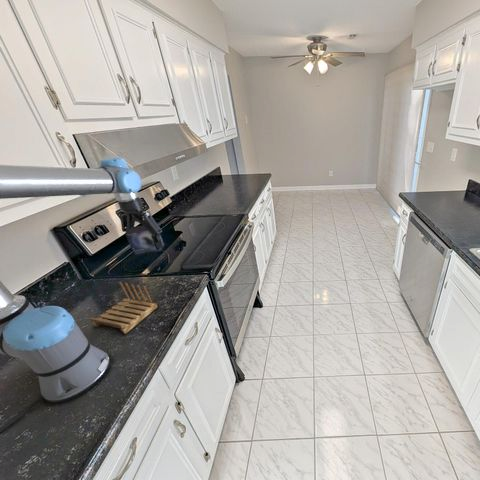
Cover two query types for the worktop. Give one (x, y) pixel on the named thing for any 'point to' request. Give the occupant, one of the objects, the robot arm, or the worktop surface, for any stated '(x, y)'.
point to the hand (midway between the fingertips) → (148, 247)
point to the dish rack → (127, 310)
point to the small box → (141, 240)
